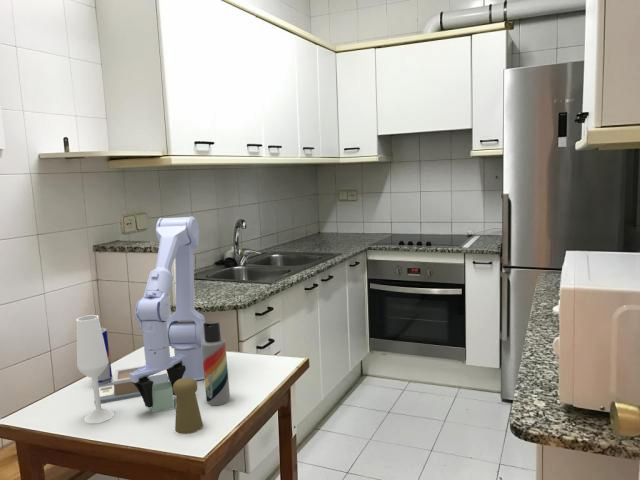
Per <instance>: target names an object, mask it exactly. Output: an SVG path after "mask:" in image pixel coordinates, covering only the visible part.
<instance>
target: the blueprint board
mask: <svg viewBox="0 0 640 480" xmlns="http://www.w3.org/2000/svg"><path fill="white" fill-rule="evenodd" d="M143 366H144V365H139V366H132V367H126V368H121V369H120V368H119V369H115V370H114V376H113V382H109V383H108V384H102V385H98V386H99V394H100V402H101V404H105V403H112V402H116V401H121V400H127V399H133V398H139V397H142V396H141V394H140V392H139V390H138V389H137V387H136V386H135V385H134V384H133V382H131V381H130V373H132V372H134V371H136V370H138V369H139V368H141V367H143ZM148 378H149V380H150V381H153V384H156V383H162V382H167V381H169V377H168V374H167V373H162V374H154V375H151V376H148ZM93 403H95V400H94V402H93Z"/></svg>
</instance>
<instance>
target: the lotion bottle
mask: <svg viewBox="0 0 640 480" xmlns="http://www.w3.org/2000/svg"><path fill="white" fill-rule="evenodd" d="M203 325H204V337H205V340H204V341H202V343H201V347H202V358H203V369H204V379H203V380H204V389H205V398H206V399H205V400H206V403H207V404H208V405H210V406H220V405H223V404H226V403H228V402H229V401H230V400H231V399H230V398H231V397H230V395H231V394H230V384H229V383H230V381H229V372H228V371H229V369H228V357H227V349H226V339H224V338H222V335H221V334H222V333H221V323H220V322H219V321H205V323H204V324H203Z"/></svg>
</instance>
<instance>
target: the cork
mask: <svg viewBox="0 0 640 480" xmlns="http://www.w3.org/2000/svg"><path fill="white" fill-rule="evenodd" d="M197 391H198V382H197V380H196V381H195V380H194V379H193V378H181V379H179V380H177V381H176V382H175V383H174V385H173V392H174V394H175V395H176V396H175V395H174V396H175V397H176V399H175V400H176V401H175V422H174V423H175V424H174V431H175V433H178V434H182V435H188V434H193V433H196V432H198V431H199V430H201V429H202V428H203V426H204V423H203V419H202V415H201V411H200V407H199V402H198V399H197V394H196V393H197Z"/></svg>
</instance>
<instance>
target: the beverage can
mask: <svg viewBox="0 0 640 480" xmlns="http://www.w3.org/2000/svg"><path fill="white" fill-rule="evenodd" d="M101 330H102V334H103V339H104V343H105V348H106V352H107V357H108V365H107V367H106V369H105V370H104V371H103V372H102V373H101V375H100V376H98V377H97V378H98V385H102V384H108V383H111V381H112V380H113V374H112V373H113V372H112V366H111V365H112V364H111V356H110V349H109V346H110V345H109V339H108V332H107V328H105V327H101Z"/></svg>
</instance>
